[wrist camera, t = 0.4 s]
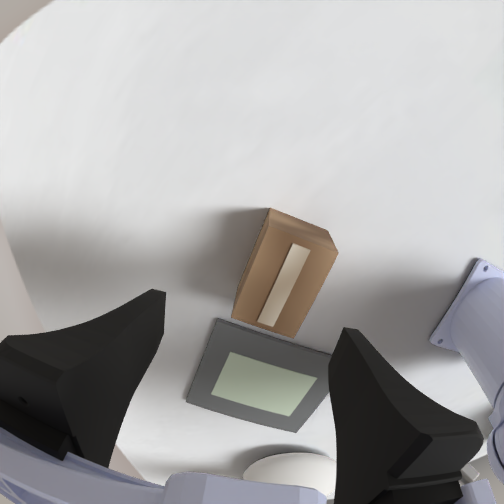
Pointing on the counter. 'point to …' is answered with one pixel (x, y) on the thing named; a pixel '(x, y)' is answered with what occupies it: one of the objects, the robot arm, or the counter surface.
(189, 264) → the counter surface
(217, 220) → the counter surface
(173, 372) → the counter surface
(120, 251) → the counter surface
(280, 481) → the flower in vase
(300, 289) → the cardboard box
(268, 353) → the mat
